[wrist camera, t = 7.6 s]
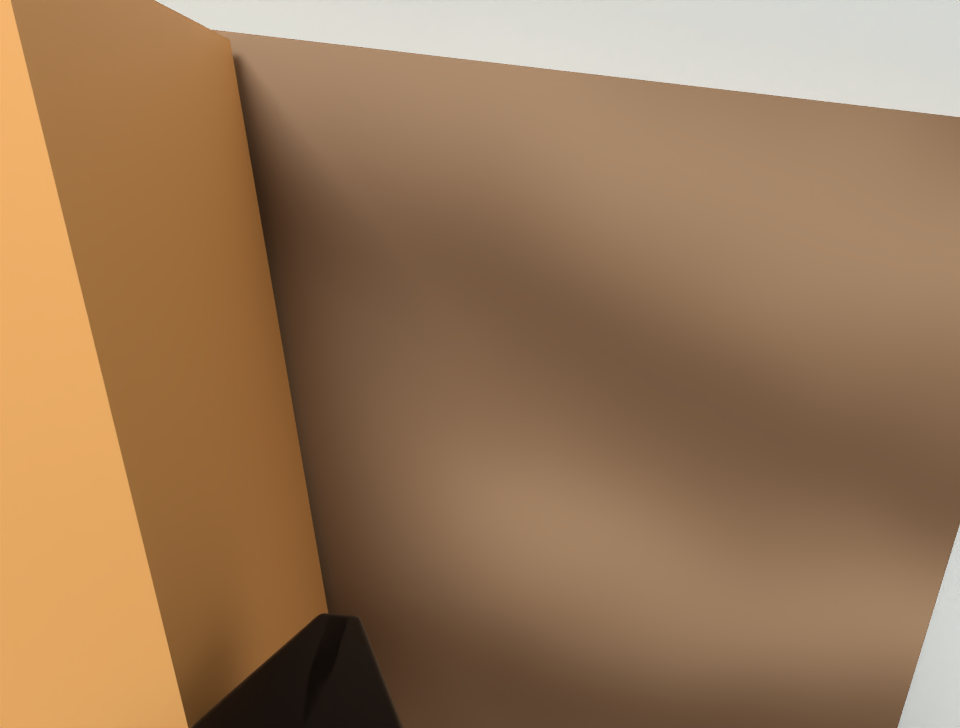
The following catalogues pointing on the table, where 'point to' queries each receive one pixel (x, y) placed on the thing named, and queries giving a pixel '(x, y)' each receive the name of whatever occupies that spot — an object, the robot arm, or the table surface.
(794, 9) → the table surface
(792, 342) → the board
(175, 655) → the orange and grey block
